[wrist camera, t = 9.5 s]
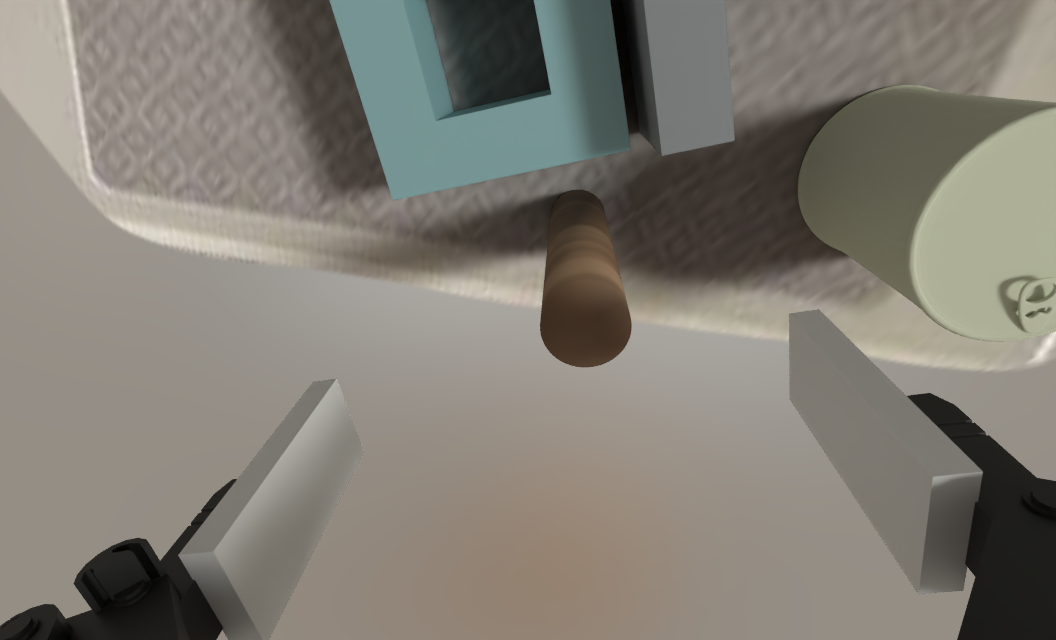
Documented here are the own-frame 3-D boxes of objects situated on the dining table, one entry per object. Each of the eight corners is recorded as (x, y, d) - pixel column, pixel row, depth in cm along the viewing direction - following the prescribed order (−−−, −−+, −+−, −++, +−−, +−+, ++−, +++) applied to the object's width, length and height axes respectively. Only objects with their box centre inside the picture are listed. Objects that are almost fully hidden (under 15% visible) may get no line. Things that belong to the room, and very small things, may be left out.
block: (346, -58, 28) (304, -79, 24) (583, -125, 27) (587, -162, 22) (416, 180, 33) (392, 200, 29) (621, 136, 32) (630, 150, 27)
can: (807, 272, 34) (919, 373, 23) (786, 117, 31) (907, 153, 20) (974, 227, 32) (1179, 315, 22) (973, 59, 29) (1217, 62, 18)
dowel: (545, 195, 33) (531, 294, 20) (600, 184, 33) (624, 277, 19) (556, 247, 34) (550, 373, 21) (608, 237, 34) (637, 359, 20)
